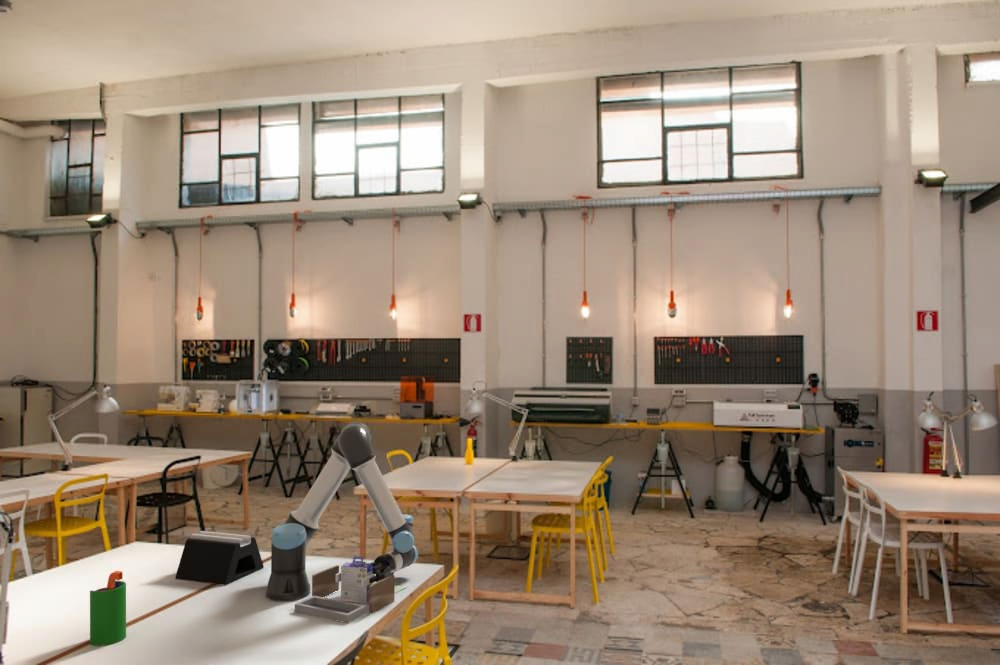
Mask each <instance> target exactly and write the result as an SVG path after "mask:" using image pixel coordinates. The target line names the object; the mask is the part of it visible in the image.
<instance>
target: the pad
mask: <svg viewBox="0 0 1000 665" xmlns="http://www.w3.org/2000/svg"><path fill="white" fill-rule="evenodd" d="M374 583H376V582H374ZM374 583H372V584H374ZM405 589H407V587H406V586H403V585H399V584H398V585H397V584H395V593H396V594H397V593H399V592H402V591H403V590H405ZM395 593H394V595H395Z"/></svg>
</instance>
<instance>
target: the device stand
mask: <svg viewBox="0 0 1000 665" xmlns="http://www.w3.org/2000/svg"><path fill="white" fill-rule="evenodd" d="M181 553H182V554H181V556H180V561H179V564H178V567H177V570H176V573H175V576H174V577H175V580H182V581H188V582H190V581H191V582H198V583H203V584H205V583H206V584H213V585H220V586H221V585H222V586H227V585H228V586H229V585H231V584H232V583H234V582H237V581H238V580H241V579H243V578H245V577H247V576H249V575H250V576H251V575H252V574H254V573H256V572H258V571H261V570H263V569H264V563H263V560H262V556H261V553H260V550H259V546H258V543H257V540H256V538H255V537H252V536H251V535H246V534H234V533H227V532H226V533H224V532H216V531H215V532H214V531H213V532H212V531H206V530H205V531H204V530H200V531H199V534H198V533H192V534H191V536H190V538H187V539H186V540H185V543H184V546H183V549H182V552H181Z"/></svg>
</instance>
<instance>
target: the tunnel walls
mask: <svg viewBox="0 0 1000 665" xmlns="http://www.w3.org/2000/svg"><path fill="white" fill-rule="evenodd" d="M338 573H340V565H337V564H336V565H334V566H331V567H328V568H327V569H324V570H322V571H319V572H317V573H314V574H311V584H312V585H311V597H312V596H318V597H324V598H326V597H328V596H327V595H329V594H331V593H333V592H335V591H338V590H340V582H336V574H338ZM395 577H396V576H395V575H394V574H393V575H391V576H389V577H387V578H384V579H382V580H380V581H378V582H376V583H374V584H372V585H369V601H368V614H370V613H371V614H370V615H372V614H374V613H376V612H377V611H379V609H380V610H381V609H384V608H385V607H387V606H389V605H390V604H393V603H395V594H394V593H395V585H396V584H395V583H396V582H395ZM338 592H339V591H338ZM335 593H336V592H335ZM333 594H334V593H333ZM331 595H332V594H331ZM325 596H326V597H325ZM329 596H330V595H329ZM375 611H376V612H375ZM373 612H374V613H373Z"/></svg>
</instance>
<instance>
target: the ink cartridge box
mask: <svg viewBox="0 0 1000 665" xmlns="http://www.w3.org/2000/svg"><path fill="white" fill-rule="evenodd" d="M357 559H358V560H357ZM363 562H364V556H357V555H354V556H353V559H352V562H349V561H347V562H345V563H344V564H342V565H341V567H340V572H341V581H340V601H343V602H348V603H358V604H359V603H360V604H361V603H363V604H367V603H369V585H367V586H365V587H361V579H363V578H365V577H367V576H369V575H372V574H373V564H372V562H369V563H368V562H366V563H363ZM370 585H372V584H370Z"/></svg>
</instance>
